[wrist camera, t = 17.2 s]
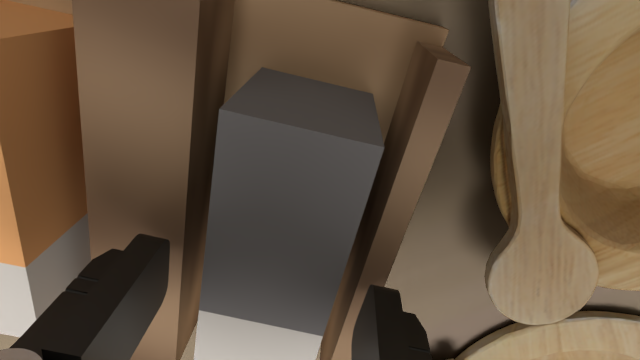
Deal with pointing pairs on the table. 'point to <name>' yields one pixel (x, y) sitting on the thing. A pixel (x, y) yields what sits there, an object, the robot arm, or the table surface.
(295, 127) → the two-tone square pillar
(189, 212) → the brown wooden divided tray
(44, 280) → the orange white rectangular block
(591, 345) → the tableware set
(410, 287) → the table surface
